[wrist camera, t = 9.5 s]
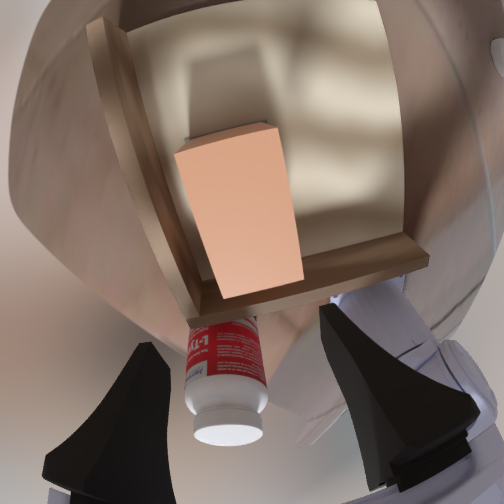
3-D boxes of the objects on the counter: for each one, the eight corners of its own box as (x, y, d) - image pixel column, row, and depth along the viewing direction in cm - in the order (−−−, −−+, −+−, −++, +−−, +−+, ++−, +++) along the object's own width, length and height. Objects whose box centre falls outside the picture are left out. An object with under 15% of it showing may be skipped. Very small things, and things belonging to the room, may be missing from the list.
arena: (397, 237, 22) (427, 266, 17) (195, 287, 22) (190, 329, 18) (370, 3, 11) (406, -14, 7) (117, 41, 12) (85, 25, 8)
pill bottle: (199, 293, 22) (193, 413, 13) (267, 309, 24) (290, 421, 14) (183, 339, 25) (176, 444, 15) (242, 352, 27) (253, 451, 17)
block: (189, 140, 15) (173, 154, 11) (260, 122, 15) (277, 127, 10) (222, 249, 19) (223, 299, 15) (284, 234, 19) (304, 279, 15)
